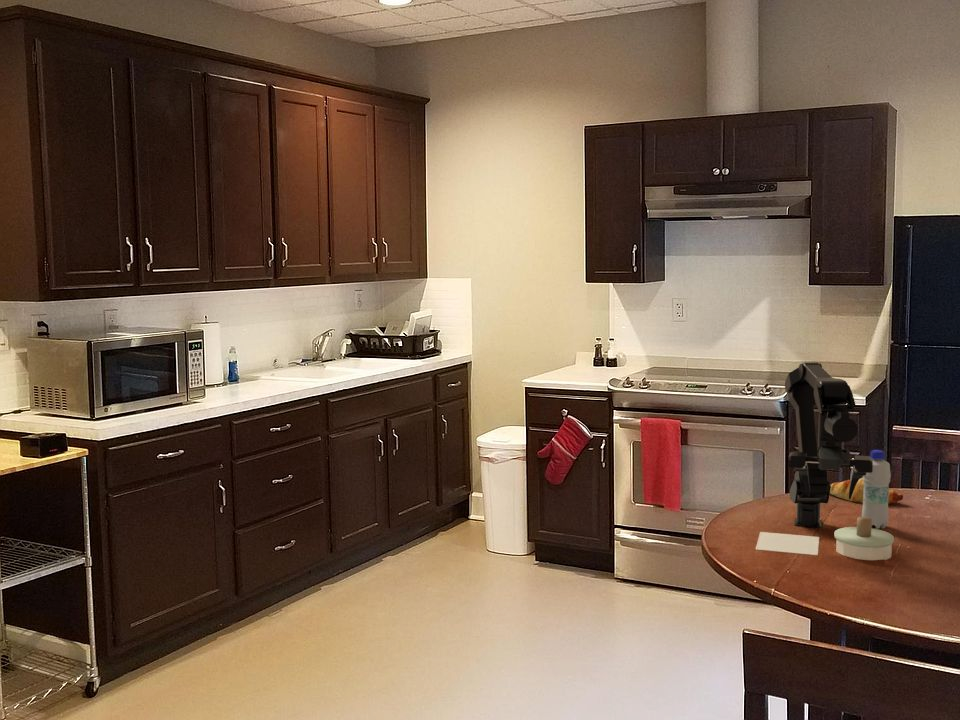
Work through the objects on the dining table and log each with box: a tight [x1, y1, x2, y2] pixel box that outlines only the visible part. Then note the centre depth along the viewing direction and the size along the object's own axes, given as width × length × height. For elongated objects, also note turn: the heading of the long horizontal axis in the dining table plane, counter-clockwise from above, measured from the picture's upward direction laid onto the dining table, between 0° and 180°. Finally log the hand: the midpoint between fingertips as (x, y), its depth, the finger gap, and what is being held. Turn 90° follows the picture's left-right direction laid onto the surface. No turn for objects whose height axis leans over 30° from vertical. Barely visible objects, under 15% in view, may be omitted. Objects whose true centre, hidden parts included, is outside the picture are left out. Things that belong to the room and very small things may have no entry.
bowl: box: [835, 539, 893, 561], centre depth 230 cm, size 12×12×4 cm
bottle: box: [861, 449, 892, 530], centre depth 248 cm, size 7×7×20 cm
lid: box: [834, 516, 895, 547], centre depth 229 cm, size 13×13×5 cm
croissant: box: [830, 477, 904, 505], centre depth 274 cm, size 21×10×8 cm, turn 53°
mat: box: [755, 531, 820, 556], centre depth 237 cm, size 14×14×1 cm
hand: (829, 497), depth 234 cm, fingers open, 9 cm apart
